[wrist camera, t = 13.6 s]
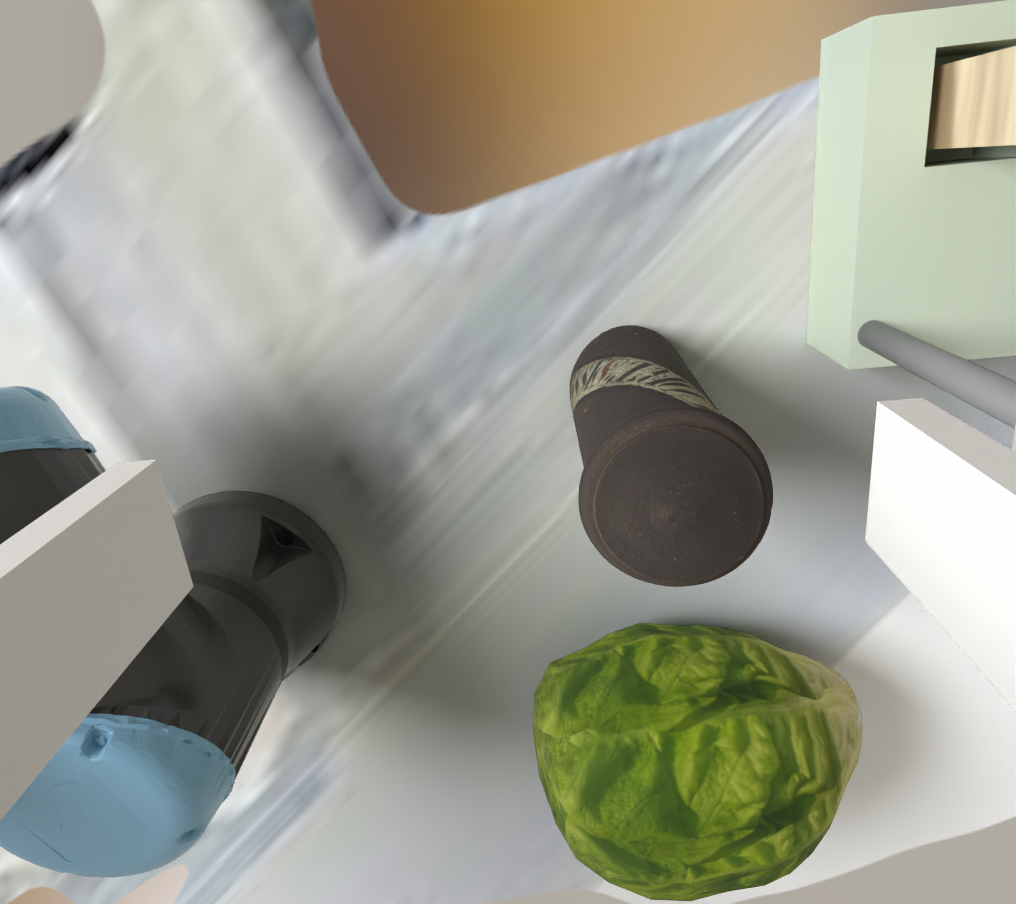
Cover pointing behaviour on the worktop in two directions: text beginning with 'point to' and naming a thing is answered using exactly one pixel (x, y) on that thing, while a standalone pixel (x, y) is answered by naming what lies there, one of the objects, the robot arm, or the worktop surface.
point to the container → (663, 465)
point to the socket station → (912, 211)
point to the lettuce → (693, 757)
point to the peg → (974, 102)
